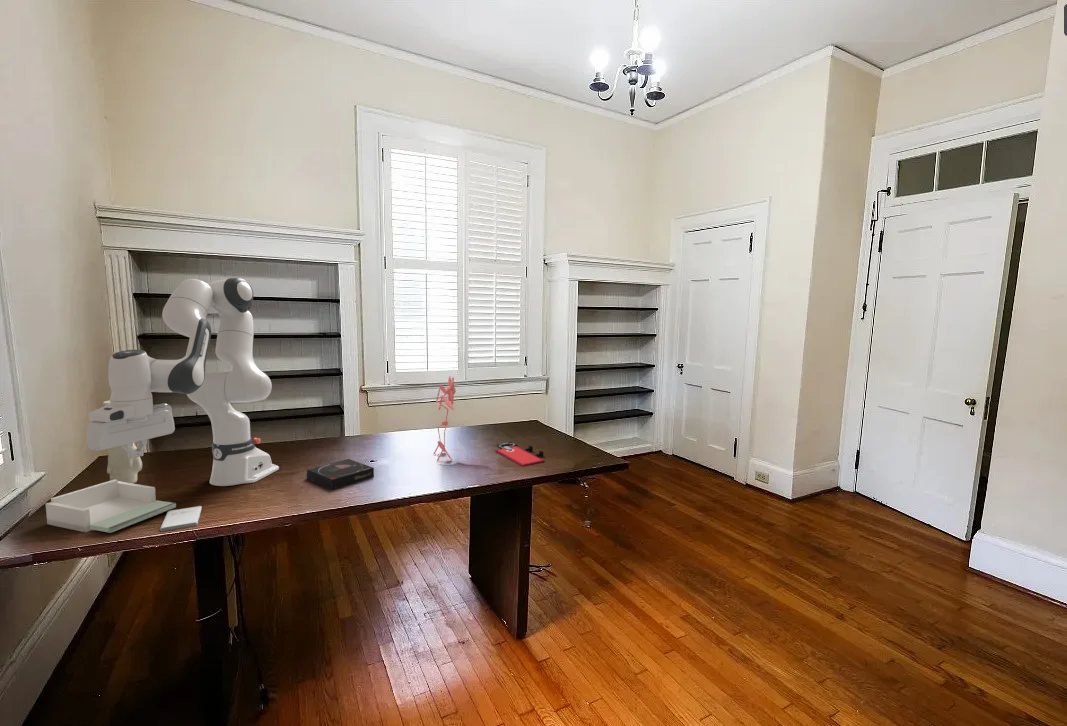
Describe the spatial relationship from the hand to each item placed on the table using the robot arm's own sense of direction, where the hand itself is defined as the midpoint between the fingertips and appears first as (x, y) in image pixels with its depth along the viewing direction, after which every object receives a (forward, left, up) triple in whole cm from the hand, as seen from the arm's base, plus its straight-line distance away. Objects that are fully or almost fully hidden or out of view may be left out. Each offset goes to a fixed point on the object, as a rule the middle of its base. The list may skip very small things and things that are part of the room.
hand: (135, 457), depth 128 cm
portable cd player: (-48, +30, -20) cm, 60 cm away
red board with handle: (-99, +83, -20) cm, 130 cm away
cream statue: (-19, -34, -19) cm, 44 cm away
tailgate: (0, -6, -17) cm, 18 cm away
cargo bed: (0, -14, -19) cm, 24 cm away
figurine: (-85, +57, -19) cm, 104 cm away
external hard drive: (-5, +10, -20) cm, 22 cm away
